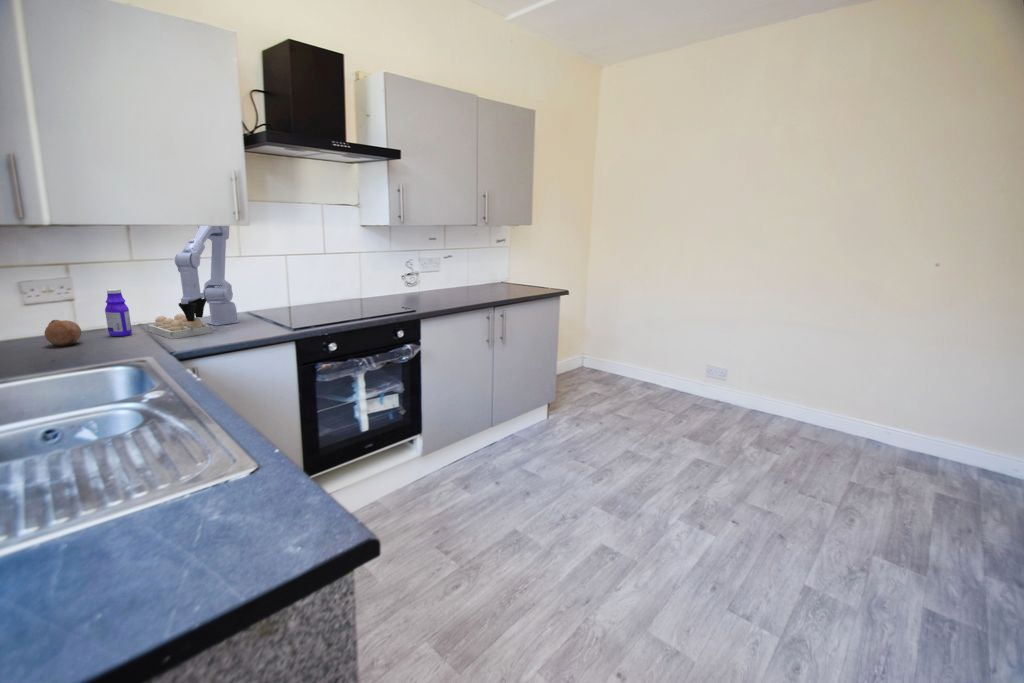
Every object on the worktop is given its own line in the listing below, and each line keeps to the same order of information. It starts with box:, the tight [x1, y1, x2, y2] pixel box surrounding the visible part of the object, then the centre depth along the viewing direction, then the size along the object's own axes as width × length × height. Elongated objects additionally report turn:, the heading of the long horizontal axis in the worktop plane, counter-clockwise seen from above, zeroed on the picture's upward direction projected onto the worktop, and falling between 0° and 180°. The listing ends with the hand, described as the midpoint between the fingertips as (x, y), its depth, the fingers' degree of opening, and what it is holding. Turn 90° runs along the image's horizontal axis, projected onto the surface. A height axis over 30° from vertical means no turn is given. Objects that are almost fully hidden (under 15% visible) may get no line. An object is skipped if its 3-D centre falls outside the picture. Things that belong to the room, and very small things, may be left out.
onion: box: [44, 319, 82, 347], centre depth 173 cm, size 10×9×10 cm
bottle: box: [104, 288, 133, 337], centre depth 187 cm, size 7×6×17 cm
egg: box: [190, 317, 203, 329], centre depth 195 cm, size 4×4×5 cm
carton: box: [147, 313, 212, 340], centre depth 196 cm, size 14×21×6 cm
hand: (195, 319), depth 194 cm, fingers open, 7 cm apart
